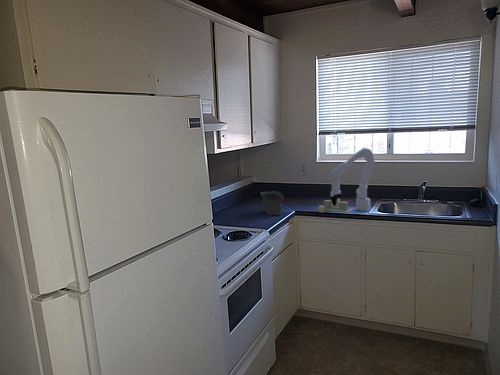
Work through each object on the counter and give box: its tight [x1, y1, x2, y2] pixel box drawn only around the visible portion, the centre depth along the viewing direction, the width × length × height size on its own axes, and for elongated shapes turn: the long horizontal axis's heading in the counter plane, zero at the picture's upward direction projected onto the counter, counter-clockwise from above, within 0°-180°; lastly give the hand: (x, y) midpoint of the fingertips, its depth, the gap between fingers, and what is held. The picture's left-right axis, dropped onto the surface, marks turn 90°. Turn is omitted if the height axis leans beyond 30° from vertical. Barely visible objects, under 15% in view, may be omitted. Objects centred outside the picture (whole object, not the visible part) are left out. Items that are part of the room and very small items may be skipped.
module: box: [330, 197, 341, 208], centre depth 272 cm, size 5×4×6 cm
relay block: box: [317, 205, 326, 213], centre depth 269 cm, size 4×4×4 cm
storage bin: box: [260, 190, 285, 217], centre depth 271 cm, size 21×16×14 cm
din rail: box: [322, 199, 354, 213], centre depth 272 cm, size 22×8×6 cm, turn 55°
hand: (335, 204), depth 272 cm, fingers closed on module, 4 cm apart
